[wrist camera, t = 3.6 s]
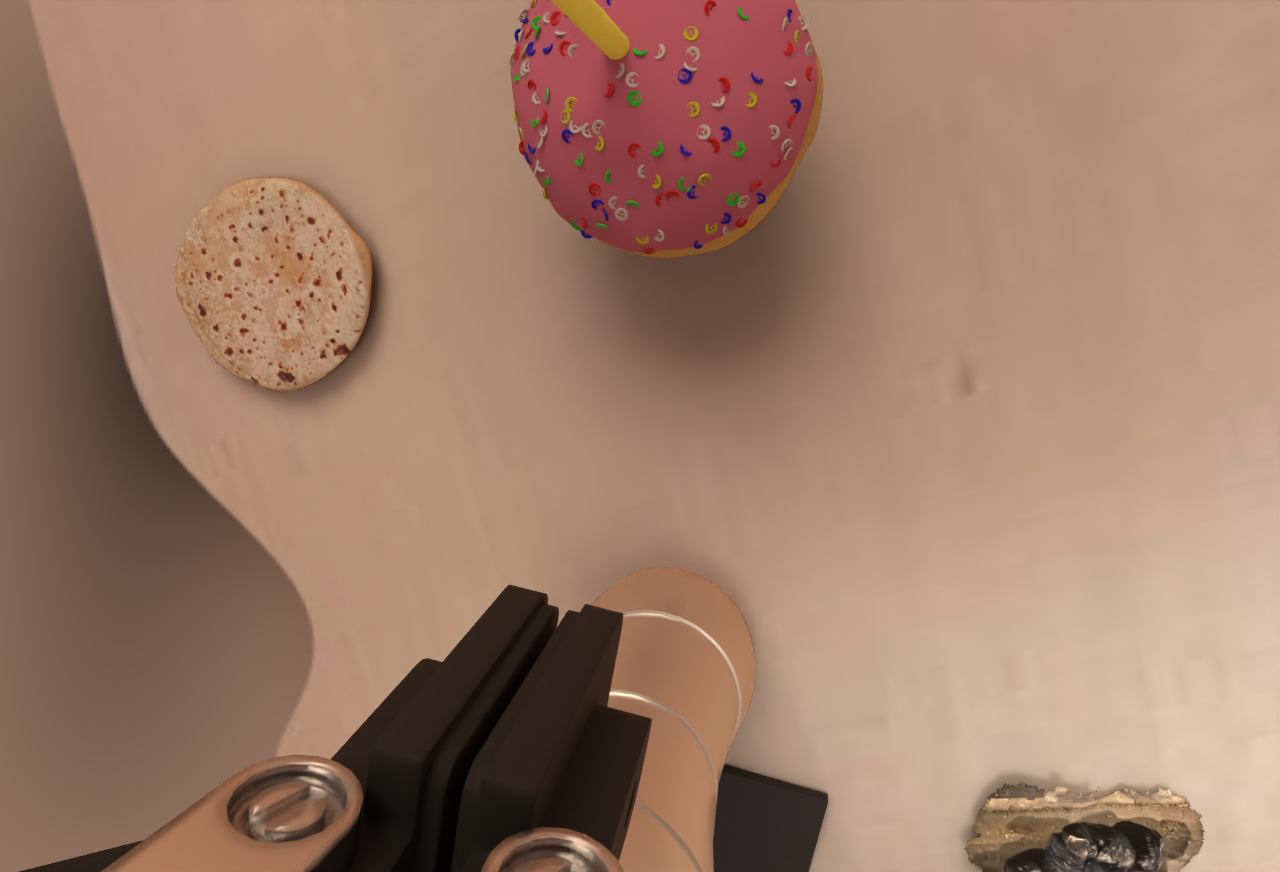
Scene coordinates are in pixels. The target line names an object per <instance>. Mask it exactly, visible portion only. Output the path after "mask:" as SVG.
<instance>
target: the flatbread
mask: <svg viewBox="0 0 1280 872" xmlns="http://www.w3.org/2000/svg"><path fill="white" fill-rule="evenodd" d="M175 281H176V284H177V286H176V292H177V296H178V299H179V300H180V302H181V305H182V307H183V310H184V312H185V314H186V316H187V318H188V320H189V322H190V324H191V326H192V327H193V329H194V331H195V332H196V334H197V335H198V337H199V338H200V340H201V341H202V343H203V344H204V346H205V348H206V350H207V351H208V352H209V354H210V355H211V356H212V357H213V359H214V360H215V361H216V363H218V364H219V365H221V366H222V367H223V368H224V369H226V370H228V371H229V372H231V373H233V374H235V375H237V376H239V377H241V378H243V379H245V380H248V381H250V382H252V383H255V384H258V385H260V386H263V387H265V388H267V389H270V390H274V391H289V390H295V389H300V388H302V387H305V386H308V385H310V384H312V383H313V382H315V381H317V380H319V379H321V378H323V377H324V376H325V375H327V374H328V373H329V372H330V371H332V370H333V369H334V368H336V367H337V366H338V365H339V364H340V363H341V362H342V361H343V360H344V359H345V358H346V357H347V355H348V354H349V353H350V352H351V350H352V349H353V348H354V347H355V345H356V344H357V342H358V340H359V338H360V336H361V334H362V332H363V329H364V326H365V323H366V321H367V318H368V314H369V307H370V299H371V285H372V258H371V253H370V251H369V249H368V246H367V244H366V243H365V242H364V240H363V239H362V238H361V237H360V236H359V235H358V234H357V233H356V232H355V231H354V230H353V229H352V228H351V227H350V226H349V224H348V223H347V222H346V221H345V219H344V218H343V217H342V216H341V215H340V214H339V212H338V211H337V210H336V209H335V208H334V207H333V206H332V205H331V204H330V203H329V202H328V201H327V200H326V199H325V198H323V197H322V196H321V195H320V194H319V193H318V192H316V191H315V190H314V189H312V188H311V187H309V186H307V185H305V184H303V183H301V182H299V181H296V180H292V179H286V178H251V179H247V180H244V181H241V182H238V183H236V184H233V185H230V186H229V187H227V188H226V189H224V190H223V191H221V192H220V193H219V194H218V195H217V196H216V197H214V198H213V199H212V200H211V201H210V202H209V203H208V204H207V205H206V206H205V207H204V208H203V209H202V210H201V211H200V212H199V213H198V214H197V215H196V217H195V218H194V219H193V220H192V222H191V224H190V226H189V228H188V230H187V232H186V235H185V238H184V241H183V244H182V247H181V250H180V253H179V257H178V262H177V265H176V278H175Z"/></svg>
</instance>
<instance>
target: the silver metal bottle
mask: <svg viewBox="0 0 1280 872" xmlns="http://www.w3.org/2000/svg"><path fill="white" fill-rule="evenodd" d="M592 606H596V607H600V608H604V609H608V610H612V611H616V612H620V613H623V625H622V630H621V636H620V641H619V646H618V652H617V657H616V662H615V668H614V673H613V678H612V683H611V689H610V694H609V699H608V705H607V707H611V708H615V709H618V710H622V711H626V712H629V713H633V714H637V715H641V716H644V717H648V718H652V724H651V730H650V735H649V740H648V745H647V750H646V755H645V760H644V764H643V769H642V774H641V778H640V783H639V787H638V792H637V796H636V800H635V804H634V808H633V812H632V816H631V820H630V824H629V828H628V831H627V835H626V838H625V842H624V845H623V849H622V852H621V856H620V859H619V863H620V865H621V867H622V869H623V871H624V872H714V863H713V837H714V826H715V815H716V804H717V794H718V783H719V780H720V776H721V773H722V770H723V767H724V763H725V760H726V757H727V754H728V750H729V747H730V744H731V742H732V740H733V739H734V737H735V735H736V733H737V731H738V730H739V728H740V726H741V724H742V722H743V720H744V717H745V714H746V712H747V709H748V707H749V704H750V701H751V697H752V694H753V691H754V686H755V673H756V669H755V661H754V654H753V649H752V644H751V639H750V635H749V632H748V629H747V626H746V623H745V620H744V619H743V617H742V615H741V613H740V612H739V610H738V608H737V607H736V605H735V604H734V603H733V602H732V601H731V599H730V598H729V597H728V596H727V595H726V594H725V593H724V592H723V591H722V590H721V589H719V588H718V587H717V586H716V585H714V584H713V583H712V582H710V581H708V580H706V579H704V578H702V577H701V576H699V575H697V574H694V573H690V572H687V571H684V570H681V569H673V568H651V569H646V570H642V571H639V572H635V573H632V574H630V575H629V576H627V577H625V578H623V579H621V580H619V581H618V582H617V583H615V584H614V585H613V586H612V587H610V588H609V589H608V590H607V591H606V592H604V593H603V594H602V595H601V596H600V597H599V598H597V599H596V600H595V601H594V602H593V604H592Z"/></svg>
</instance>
